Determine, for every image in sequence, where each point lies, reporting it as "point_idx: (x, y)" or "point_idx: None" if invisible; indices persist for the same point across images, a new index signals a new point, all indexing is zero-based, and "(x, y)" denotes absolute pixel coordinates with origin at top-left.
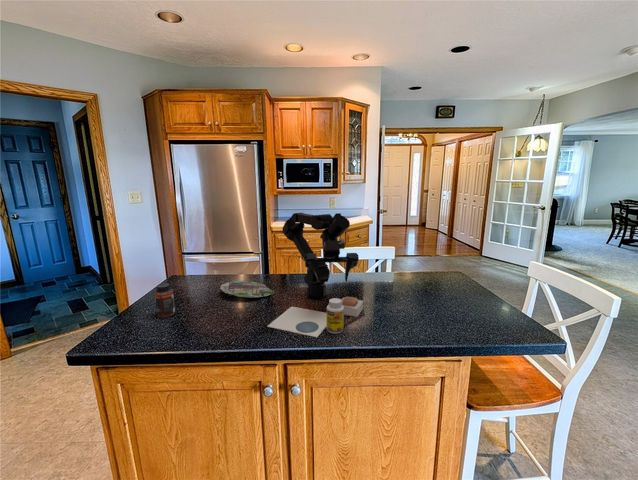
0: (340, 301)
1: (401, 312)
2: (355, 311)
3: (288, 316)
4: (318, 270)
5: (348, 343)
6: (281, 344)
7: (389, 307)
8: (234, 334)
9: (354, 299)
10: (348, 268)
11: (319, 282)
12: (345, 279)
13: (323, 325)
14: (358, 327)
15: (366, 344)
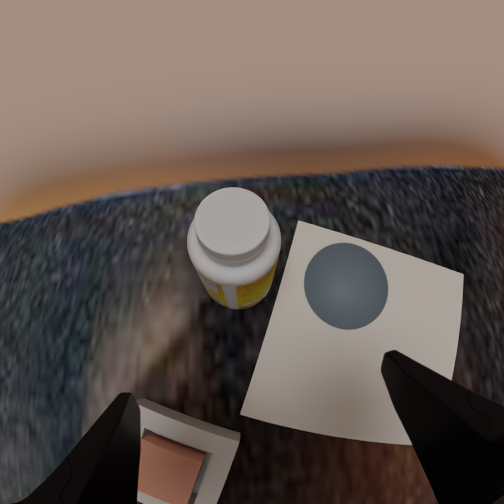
0: (201, 208)
1: (6, 416)
2: (144, 404)
3: (430, 358)
4: (455, 410)
5: (192, 198)
6: (387, 182)
7: (35, 463)
8: (499, 226)
9: (140, 470)
10: (58, 482)
11: (383, 365)
12: (133, 418)
13: (287, 305)
14: (146, 306)
15: (139, 199)
